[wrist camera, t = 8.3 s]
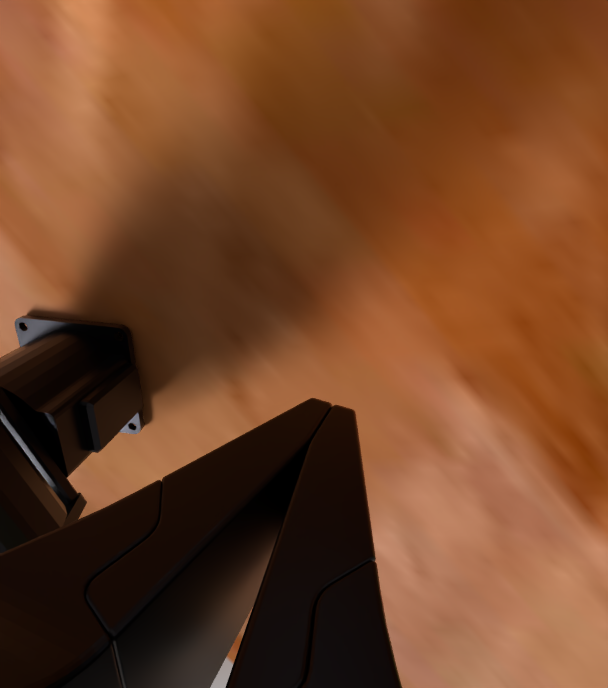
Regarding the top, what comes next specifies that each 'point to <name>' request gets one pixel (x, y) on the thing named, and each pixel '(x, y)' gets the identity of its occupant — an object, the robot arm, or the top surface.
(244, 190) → the top surface
